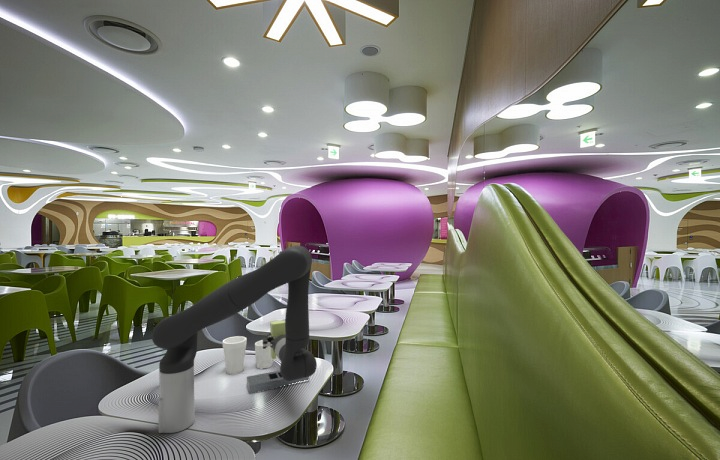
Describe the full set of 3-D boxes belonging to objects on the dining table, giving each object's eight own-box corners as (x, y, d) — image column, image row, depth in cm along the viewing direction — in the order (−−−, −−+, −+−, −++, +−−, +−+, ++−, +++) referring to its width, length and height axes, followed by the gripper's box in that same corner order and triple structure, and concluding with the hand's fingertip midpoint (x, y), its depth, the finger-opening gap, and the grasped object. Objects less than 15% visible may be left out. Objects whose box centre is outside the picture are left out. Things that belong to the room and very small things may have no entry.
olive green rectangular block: (272, 359, 124) (272, 324, 124) (270, 355, 128) (270, 321, 128) (285, 356, 126) (285, 322, 126) (283, 353, 130) (283, 320, 130)
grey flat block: (249, 393, 119) (249, 385, 119) (246, 384, 126) (246, 376, 126) (308, 381, 128) (308, 373, 128) (303, 373, 136) (303, 366, 136)
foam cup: (222, 368, 141) (222, 338, 141) (245, 364, 145) (245, 335, 145) (223, 377, 132) (223, 345, 132) (247, 373, 136) (247, 341, 136)
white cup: (270, 369, 140) (270, 345, 140) (252, 369, 140) (252, 345, 140) (276, 362, 147) (275, 339, 147) (258, 362, 148) (258, 339, 148)
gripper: (306, 334, 117) (294, 322, 133) (264, 340, 111) (257, 327, 127) (306, 356, 117) (294, 341, 133) (264, 363, 111) (257, 347, 127)
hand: (276, 334), depth 130 cm, fingers closed on olive green rectangular block, 5 cm apart
